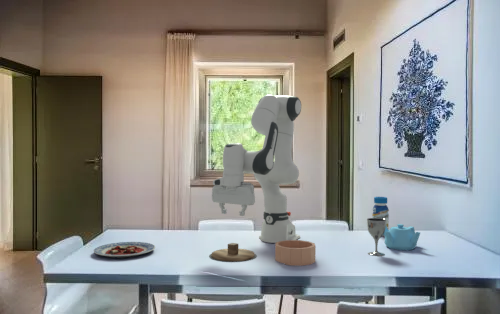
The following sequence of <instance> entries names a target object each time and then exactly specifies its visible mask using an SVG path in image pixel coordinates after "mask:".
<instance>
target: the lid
mask: <svg viewBox="0 0 500 314" xmlns="http://www.w3.org/2000/svg"><path fill="white" fill-rule="evenodd" d="M211 254H212V258H214V259H216V260H220V261H219V262H221V261H244V262H246V261H245V260H249V259H252V258H254V256H255V254H256V253H255V252H254V251H253V250H250V249H245V248H239V243H236V242H230V243H228V244H227V248H223V249H217V250H214V251H212V252H211ZM216 260H215V261H216ZM249 261H250V260H249Z"/></svg>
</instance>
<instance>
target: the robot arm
mask: <svg viewBox="0 0 500 314" xmlns="http://www.w3.org/2000/svg"><path fill="white" fill-rule="evenodd" d="M301 112H302V102H301V100H300V98H299V97H298V96H295V95H283V94H282V95H281V94H280V95H274V94H266V95H264V96H263V97H261V98H260V99H259V100H258V102H257V105H256V107H255V108H254V111H253V113H252V116H251V118H250V119H251V120H250V122H251V127H252V128H253V129H254V130H255V132H257V133H258V134H260V135H263V136H264V141H263V146H262V148H261V149H259V150H257V151H255V150H247V149H245V148H244V145H243V144H242V143H241V142H231V143H227V144H225V145H224V148H223V153H222V166H223V171H222V177H219V178H216V179H213V180H212V185H213V187H212V190H211V200H212V202H213V203H218V206H219V208H220V211H221V214H223V215H227V211H228V210H227V208H226V207H225V204H229V205H240V206H241V210H240V211H239V212H238V213H239V214H238V215H239V216H241V217H243V216H246V215H245V213H246V211H247V209H248V206H253V205H255V203H256V199H255V198H256V197H255V186H254V184H253V183H252V182H249V181H248V182H246V181H245V179H244V177H245V174H253V177H254V179H255V180H256V182H257V183H259V185H260V187H261V190H262V193H263V201H264V204H263V205H264V206H263V207H264V211H263V221H262V222H261V231H260V235H259V236H258V238H259V239H260V240H261V241H262V242H265V243H269V244H270V243H272V244H273V243H274V244H276V242H279V241H284V240H299V239H300V238H301V235H300V234H297V233H296V226H295V225H294V223H293V222H292V221H291V220H289V218H290V216H292V212H291V211H288V209H287V207H288V206H287V205H288V204H287V203H288V202H287V201H288V198H287V195H286V193H284V192H283V191H282V189H281V188H280V185H284V186H285V185H292V184H295V183H297V181H298V179H299V176H300V171H299V168H298V166H297V165H296V164H295V162H294V160H293V157H292V147H293V140H294V132H295V120H297V119H296V118H298V116H299V115H300V114H301Z"/></svg>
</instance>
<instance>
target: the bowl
mask: <svg viewBox="0 0 500 314" xmlns="http://www.w3.org/2000/svg"><path fill="white" fill-rule="evenodd" d="M274 244H275V245H274V246H275V247H274V248H275V250H274V251H275V252H274V253H275V257H274V258H275V259H274V260H275V261H276V262H278V263H280V264H284V265H286V266H298V267H299V266H301V267H302V266H309V265H313V264H315V263H316V244H315V243H314V242H312V241H307V240H301V239H297V240H284V241H279V242H276V243H274Z"/></svg>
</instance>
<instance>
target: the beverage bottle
mask: <svg viewBox="0 0 500 314" xmlns="http://www.w3.org/2000/svg"><path fill="white" fill-rule="evenodd" d="M373 204H374V206H373V208H372V213H371V215H372V218H382V219H386V226H387V228H388V229H389V226H390V225H389V221H390V220H389V217H390V215H389V211H390V210H389V207H388V205H387V204H388V197H386V196H374V197H373ZM381 237H385V236H384V234H383V235H382V236H381Z"/></svg>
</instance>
